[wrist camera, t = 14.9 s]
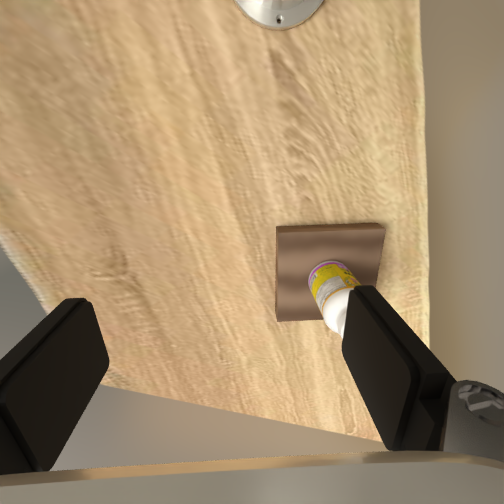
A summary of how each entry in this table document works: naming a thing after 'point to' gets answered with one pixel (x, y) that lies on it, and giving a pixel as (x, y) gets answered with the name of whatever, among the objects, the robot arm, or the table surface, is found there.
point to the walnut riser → (315, 252)
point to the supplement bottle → (332, 292)
